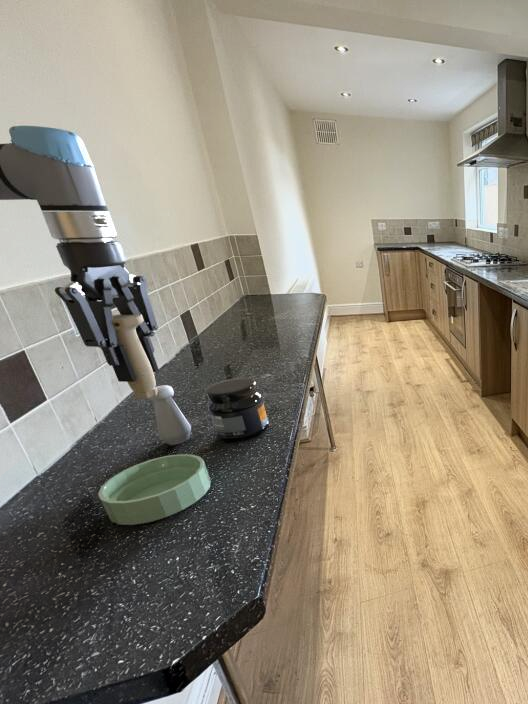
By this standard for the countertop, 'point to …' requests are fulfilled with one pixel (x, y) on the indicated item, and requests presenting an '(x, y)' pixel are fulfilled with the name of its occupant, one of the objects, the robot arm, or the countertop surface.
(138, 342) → the handle
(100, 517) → the countertop surface
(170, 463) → the bowl
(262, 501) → the countertop surface
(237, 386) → the supplement container
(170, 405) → the salt shaker
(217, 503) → the countertop surface
